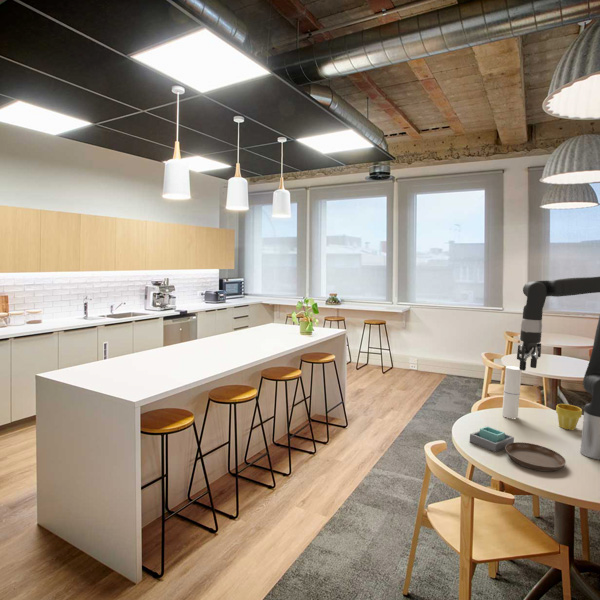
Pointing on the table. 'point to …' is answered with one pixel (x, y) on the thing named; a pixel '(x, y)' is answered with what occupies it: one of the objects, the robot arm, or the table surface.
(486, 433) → the small crate
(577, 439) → the table surface
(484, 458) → the table surface
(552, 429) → the table surface
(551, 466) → the plant saucer
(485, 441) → the grey rectangular tray
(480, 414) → the table surface
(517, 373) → the cylindrical container
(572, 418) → the plant pot
